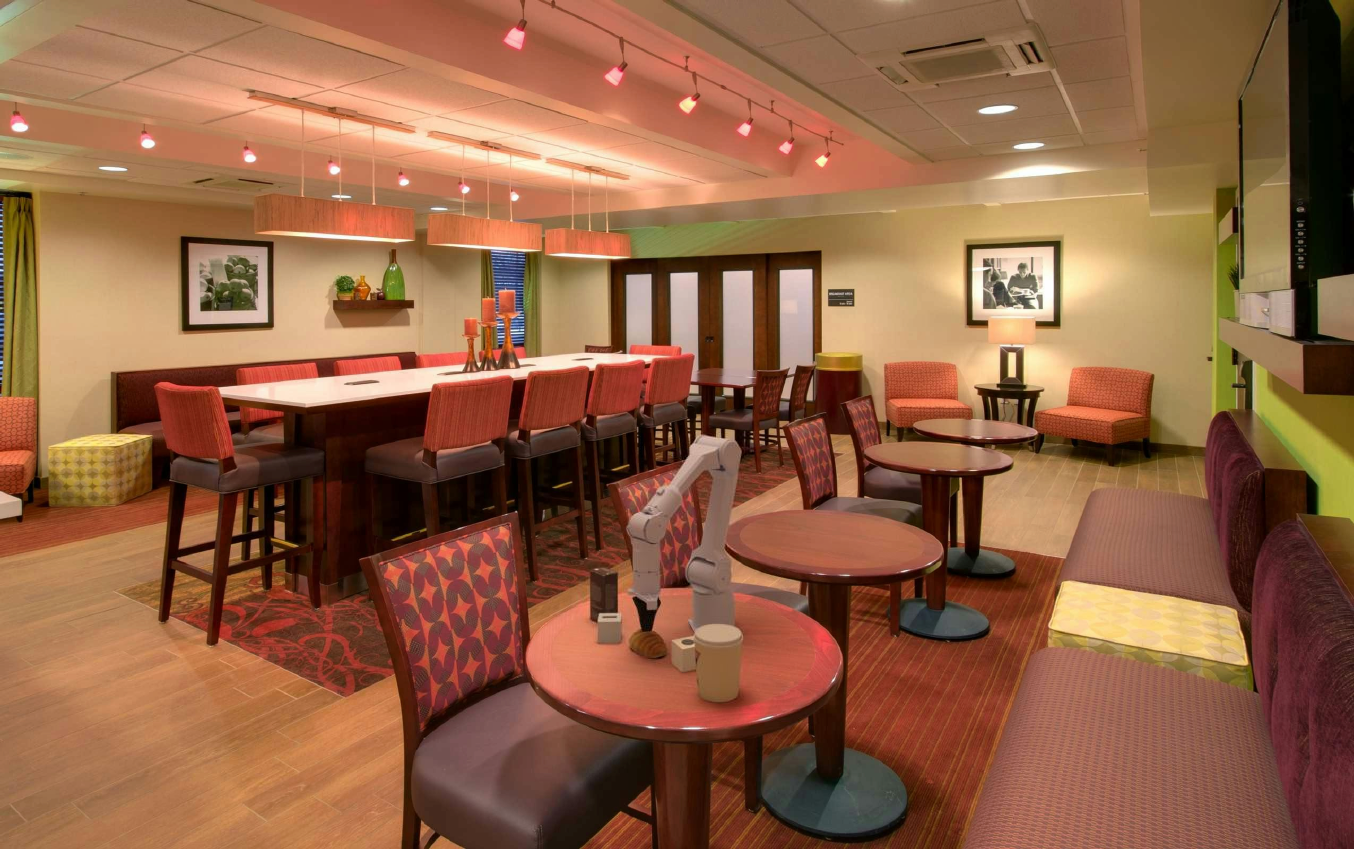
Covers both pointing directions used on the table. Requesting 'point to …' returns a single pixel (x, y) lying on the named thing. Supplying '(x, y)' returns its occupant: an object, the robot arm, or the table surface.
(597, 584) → the box
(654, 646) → the pastry
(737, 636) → the coffee cup
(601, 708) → the table surface
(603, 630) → the marked block grey
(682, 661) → the marked block cream
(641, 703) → the table surface
